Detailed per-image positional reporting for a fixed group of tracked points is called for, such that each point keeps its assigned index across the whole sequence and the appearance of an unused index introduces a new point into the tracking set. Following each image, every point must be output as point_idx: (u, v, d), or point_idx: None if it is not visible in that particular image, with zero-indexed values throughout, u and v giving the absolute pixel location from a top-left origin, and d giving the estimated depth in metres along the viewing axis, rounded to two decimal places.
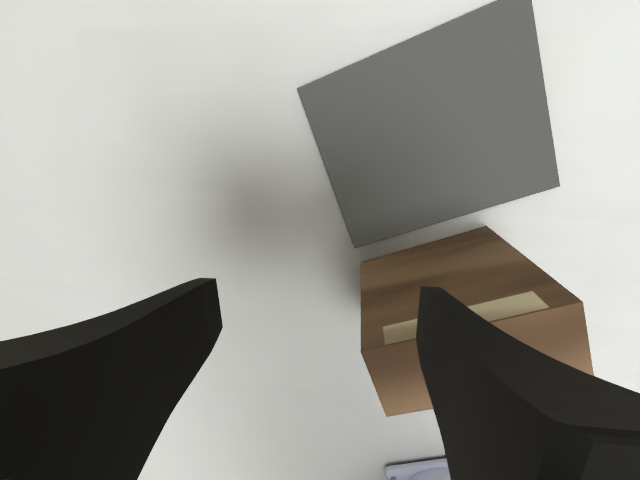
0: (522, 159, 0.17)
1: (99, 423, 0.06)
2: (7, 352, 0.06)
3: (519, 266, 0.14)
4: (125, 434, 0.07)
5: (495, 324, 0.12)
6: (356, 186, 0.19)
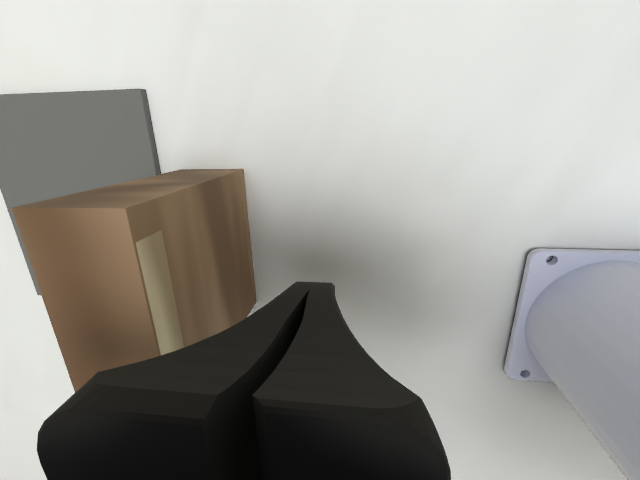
0: (109, 124, 0.17)
1: None
2: (198, 366, 0.05)
3: None
4: None
5: (46, 298, 0.10)
6: None
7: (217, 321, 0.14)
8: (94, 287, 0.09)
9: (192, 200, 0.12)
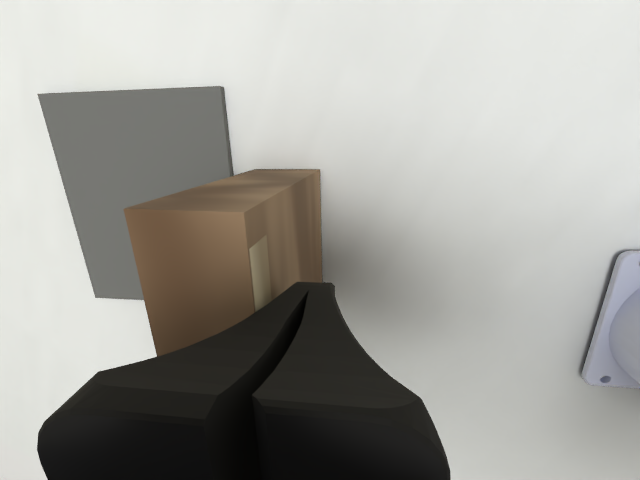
0: (184, 122, 0.16)
1: None
2: (198, 366, 0.05)
3: None
4: None
5: (148, 303, 0.09)
6: None
7: None
8: (199, 294, 0.09)
9: (286, 202, 0.11)
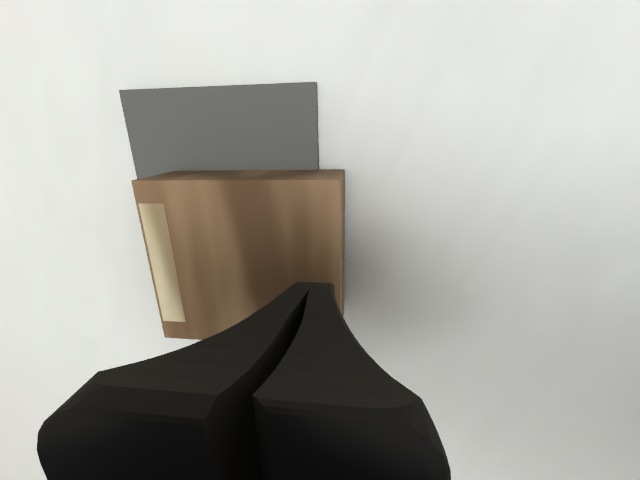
0: (274, 120, 0.16)
1: None
2: (198, 366, 0.05)
3: None
4: None
5: None
6: None
7: (234, 308, 0.15)
8: None
9: (208, 192, 0.13)
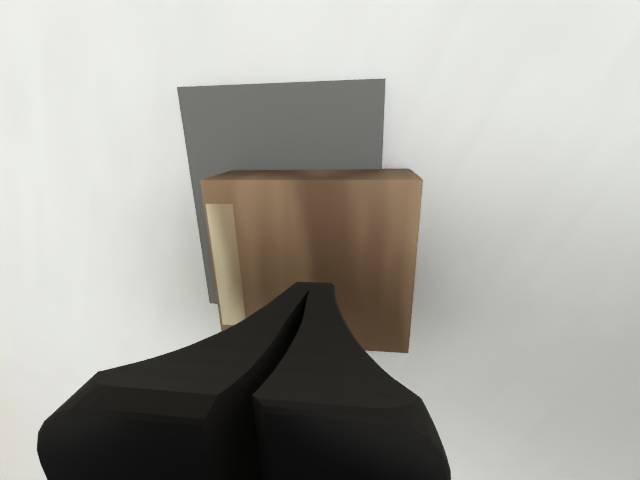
0: (338, 118, 0.15)
1: None
2: (198, 366, 0.05)
3: None
4: None
5: None
6: None
7: None
8: None
9: (281, 192, 0.13)
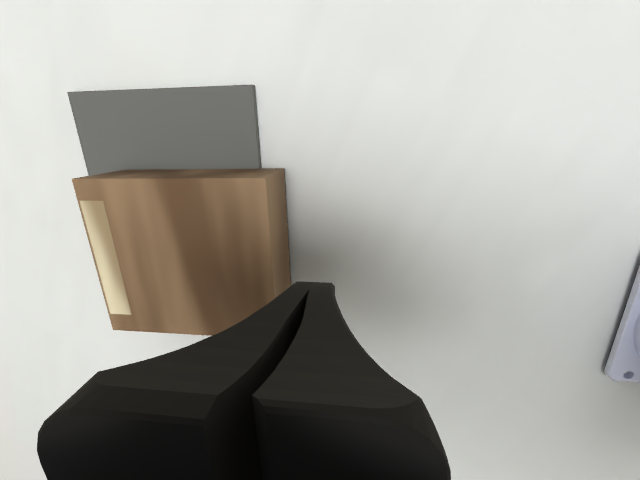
0: (215, 121, 0.16)
1: None
2: (198, 366, 0.05)
3: None
4: None
5: None
6: None
7: (176, 301, 0.16)
8: None
9: (144, 190, 0.14)
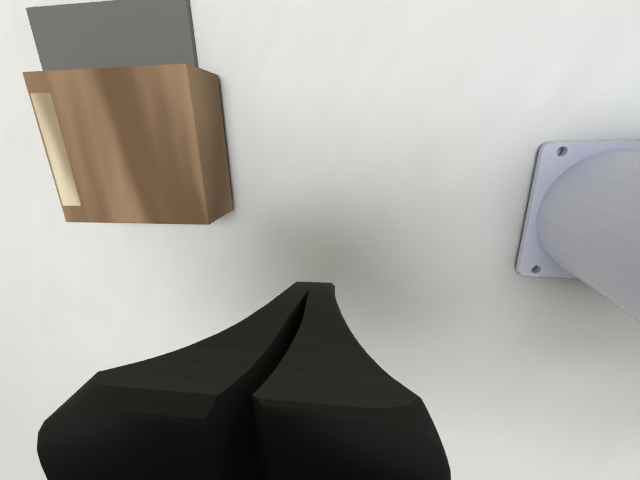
0: (155, 31, 0.18)
1: None
2: (198, 366, 0.05)
3: None
4: None
5: None
6: None
7: (118, 190, 0.18)
8: None
9: (84, 80, 0.16)
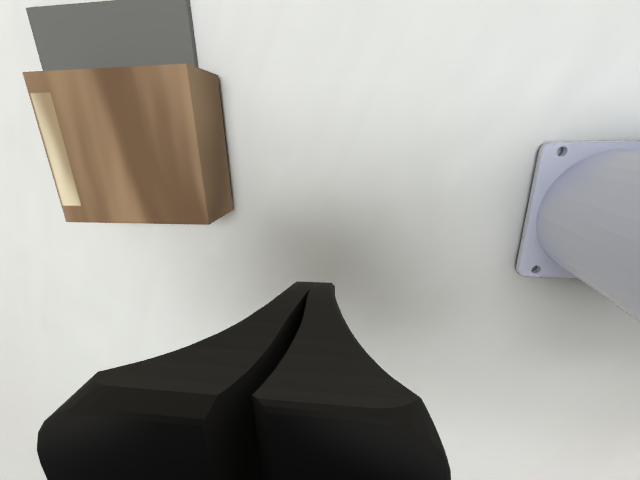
0: (155, 31, 0.18)
1: None
2: (198, 366, 0.05)
3: None
4: None
5: None
6: None
7: (118, 190, 0.18)
8: None
9: (84, 80, 0.16)
